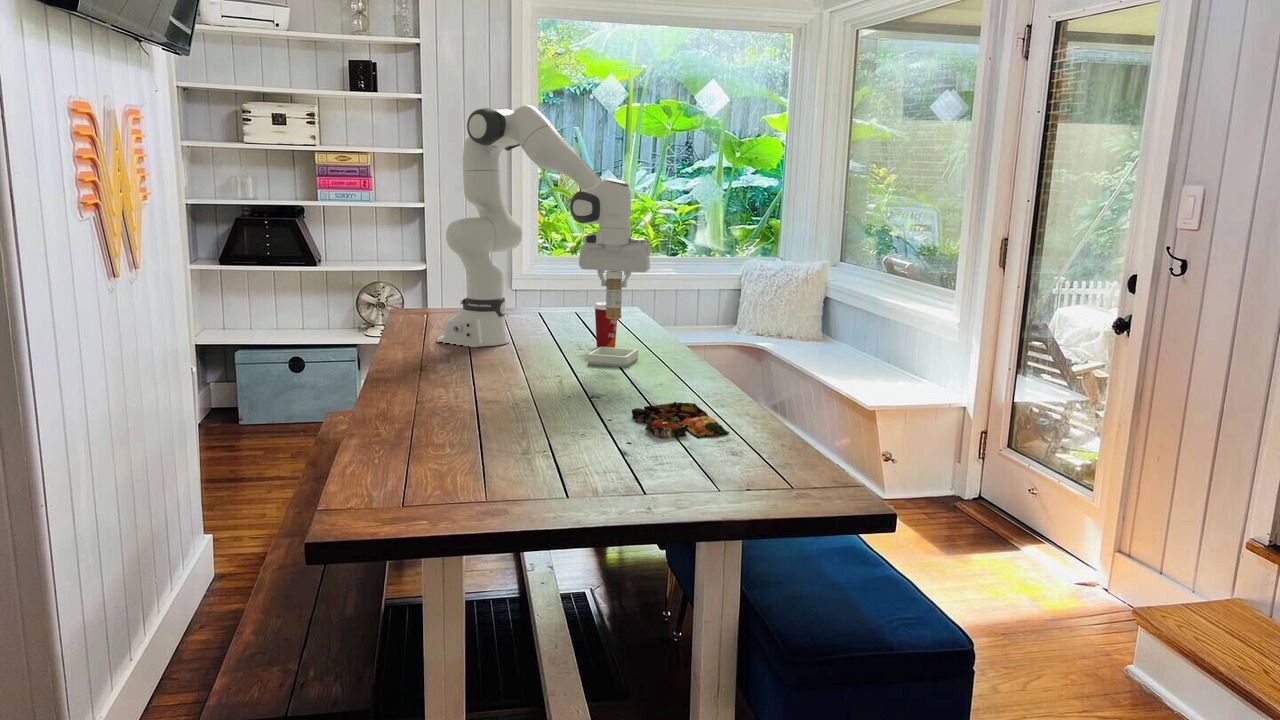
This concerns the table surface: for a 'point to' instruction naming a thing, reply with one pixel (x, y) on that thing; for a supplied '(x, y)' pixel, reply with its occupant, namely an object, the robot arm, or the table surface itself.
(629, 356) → the tray
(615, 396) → the table surface
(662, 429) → the food
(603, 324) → the paper cup
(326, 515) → the table surface
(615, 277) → the sprinkles bottle
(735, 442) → the table surface
